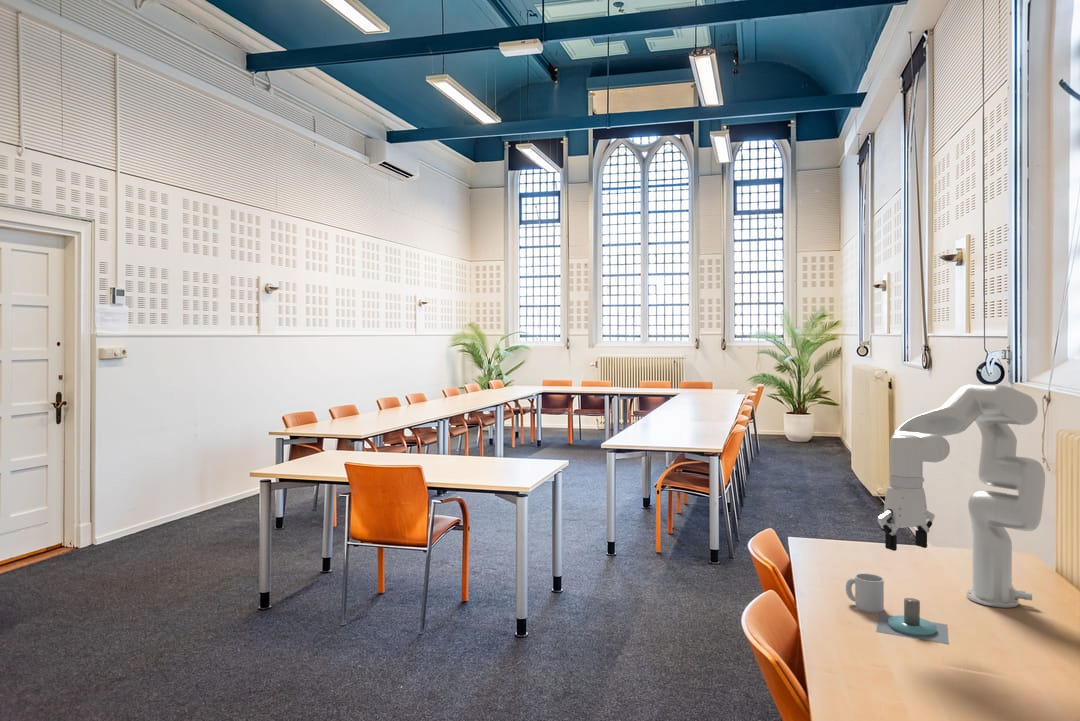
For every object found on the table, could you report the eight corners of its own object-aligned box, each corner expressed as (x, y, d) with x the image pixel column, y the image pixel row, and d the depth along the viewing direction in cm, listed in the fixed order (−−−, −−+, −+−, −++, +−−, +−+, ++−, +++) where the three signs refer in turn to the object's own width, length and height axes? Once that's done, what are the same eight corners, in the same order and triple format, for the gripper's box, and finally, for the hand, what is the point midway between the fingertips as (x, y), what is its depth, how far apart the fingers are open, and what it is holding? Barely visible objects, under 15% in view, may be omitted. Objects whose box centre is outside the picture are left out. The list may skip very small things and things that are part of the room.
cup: (879, 616, 186) (879, 583, 186) (841, 607, 193) (841, 575, 193) (887, 608, 191) (886, 577, 191) (850, 600, 198) (849, 569, 198)
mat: (947, 626, 179) (947, 624, 179) (948, 645, 166) (948, 644, 166) (879, 615, 187) (879, 613, 187) (876, 633, 174) (876, 631, 174)
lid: (936, 624, 179) (936, 597, 179) (936, 639, 169) (936, 611, 169) (889, 617, 184) (889, 590, 184) (887, 631, 174) (887, 603, 174)
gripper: (921, 478, 183) (921, 542, 183) (868, 481, 179) (868, 546, 179) (944, 483, 176) (944, 549, 176) (890, 486, 171) (890, 554, 171)
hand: (906, 548), depth 177 cm, fingers open, 9 cm apart
